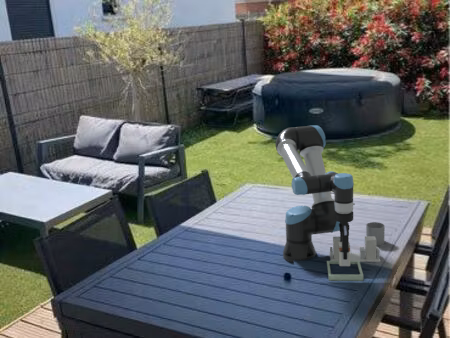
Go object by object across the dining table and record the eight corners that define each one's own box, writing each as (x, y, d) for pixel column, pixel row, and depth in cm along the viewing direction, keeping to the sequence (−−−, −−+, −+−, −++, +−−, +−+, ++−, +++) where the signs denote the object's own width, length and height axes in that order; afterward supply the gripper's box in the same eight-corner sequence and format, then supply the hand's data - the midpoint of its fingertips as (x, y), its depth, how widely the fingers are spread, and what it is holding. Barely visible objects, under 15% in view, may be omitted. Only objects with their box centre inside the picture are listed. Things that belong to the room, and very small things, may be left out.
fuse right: (366, 259, 220) (366, 240, 217) (364, 254, 224) (364, 236, 222) (376, 259, 219) (376, 240, 217) (374, 254, 223) (374, 236, 221)
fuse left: (333, 259, 222) (333, 240, 220) (333, 255, 226) (332, 236, 224) (343, 259, 221) (343, 240, 219) (343, 255, 225) (342, 236, 223)
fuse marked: (339, 266, 208) (339, 246, 206) (338, 261, 212) (338, 242, 210) (350, 266, 208) (350, 246, 205) (349, 261, 212) (349, 242, 210)
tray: (328, 280, 206) (328, 275, 205) (326, 266, 219) (326, 260, 218) (363, 281, 203) (363, 275, 203) (359, 266, 217) (359, 260, 216)
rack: (330, 264, 220) (330, 253, 219) (329, 255, 229) (329, 244, 227) (380, 264, 217) (380, 253, 215) (377, 255, 225) (377, 244, 224)
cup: (364, 247, 236) (364, 227, 233) (368, 240, 243) (368, 221, 240) (382, 249, 232) (382, 229, 229) (385, 242, 239) (386, 223, 236)
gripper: (355, 218, 195) (355, 272, 201) (351, 204, 212) (351, 254, 218) (336, 218, 196) (337, 272, 202) (333, 204, 213) (334, 254, 219)
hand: (344, 262), depth 210 cm, fingers closed on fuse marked, 4 cm apart
